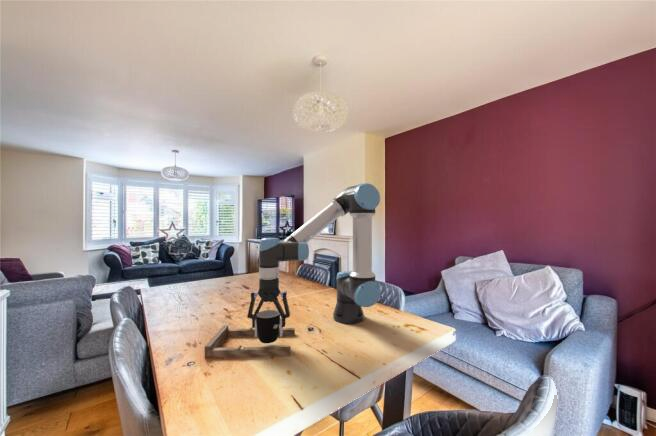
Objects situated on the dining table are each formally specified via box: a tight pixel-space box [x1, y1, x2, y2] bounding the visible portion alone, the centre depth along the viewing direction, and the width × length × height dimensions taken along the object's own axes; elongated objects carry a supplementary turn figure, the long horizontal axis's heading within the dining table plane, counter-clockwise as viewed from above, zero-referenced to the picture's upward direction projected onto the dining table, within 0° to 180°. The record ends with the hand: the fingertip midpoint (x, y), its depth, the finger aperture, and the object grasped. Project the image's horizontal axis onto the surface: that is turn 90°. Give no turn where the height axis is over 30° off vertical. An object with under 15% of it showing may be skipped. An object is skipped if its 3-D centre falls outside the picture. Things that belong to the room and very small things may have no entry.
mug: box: [256, 309, 281, 344], centre depth 105 cm, size 12×9×10 cm
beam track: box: [204, 324, 296, 359], centre depth 105 cm, size 30×19×4 cm, turn 92°
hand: (268, 335), depth 105 cm, fingers closed on mug, 9 cm apart
